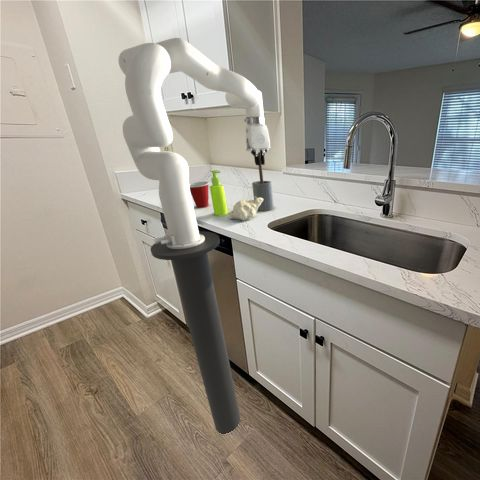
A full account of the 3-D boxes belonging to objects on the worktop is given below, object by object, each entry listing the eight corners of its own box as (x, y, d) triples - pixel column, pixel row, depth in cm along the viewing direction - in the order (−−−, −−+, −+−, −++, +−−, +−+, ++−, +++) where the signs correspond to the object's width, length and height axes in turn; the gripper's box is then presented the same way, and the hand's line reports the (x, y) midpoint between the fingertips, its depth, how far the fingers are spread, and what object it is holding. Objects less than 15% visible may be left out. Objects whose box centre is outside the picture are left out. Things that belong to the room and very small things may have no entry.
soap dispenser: (219, 216, 118) (211, 171, 110) (212, 213, 122) (204, 170, 115) (231, 213, 122) (224, 170, 114) (223, 211, 126) (217, 169, 119)
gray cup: (261, 212, 124) (258, 184, 119) (251, 208, 130) (248, 182, 125) (277, 208, 129) (274, 182, 124) (266, 205, 135) (264, 180, 130)
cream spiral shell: (229, 229, 108) (254, 207, 104) (219, 215, 109) (244, 192, 105) (249, 228, 123) (271, 208, 119) (240, 216, 124) (263, 196, 120)
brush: (261, 194, 124) (257, 152, 117) (256, 193, 127) (252, 152, 119) (269, 193, 127) (265, 152, 119) (264, 191, 130) (260, 151, 122)
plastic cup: (187, 206, 136) (182, 183, 131) (208, 202, 142) (204, 180, 138) (194, 210, 128) (189, 186, 124) (216, 206, 135) (212, 183, 130)
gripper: (243, 121, 107) (249, 167, 114) (275, 121, 117) (278, 163, 124) (235, 121, 112) (240, 165, 119) (266, 122, 122) (269, 162, 129)
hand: (260, 164), depth 122 cm, fingers closed on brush
